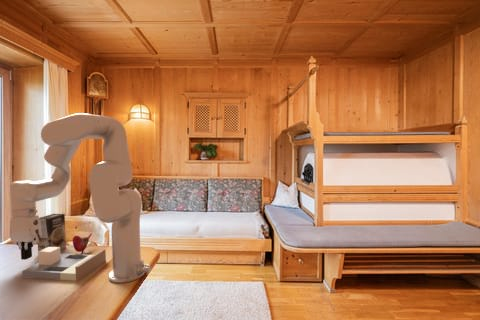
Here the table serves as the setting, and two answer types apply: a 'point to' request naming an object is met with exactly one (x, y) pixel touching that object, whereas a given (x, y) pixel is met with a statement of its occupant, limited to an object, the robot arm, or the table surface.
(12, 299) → the table surface
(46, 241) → the coffee box
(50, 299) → the table surface
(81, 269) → the board
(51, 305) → the table surface
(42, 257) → the cream block
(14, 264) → the table surface
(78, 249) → the decorative bird figurine
